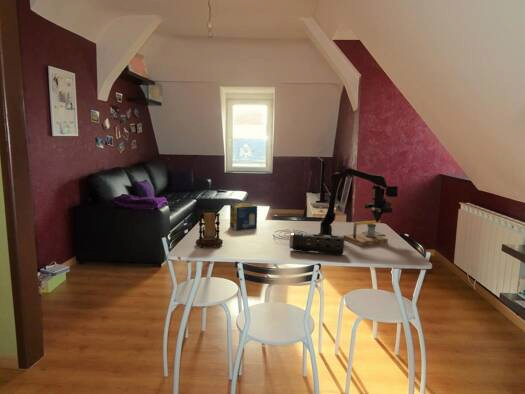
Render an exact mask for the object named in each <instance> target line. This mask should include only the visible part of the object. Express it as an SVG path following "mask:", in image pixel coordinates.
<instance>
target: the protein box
mask: <svg viewBox="0 0 525 394" xmlns="http://www.w3.org/2000/svg"><path fill="white" fill-rule="evenodd" d="M229 205H230V206H229V207H230V208H229V228H231V229H232V230H234V231H244V230H245V231H246V230H256V229H258V227H257V226H258V205H256V204H253V203H251V202H248V203H237V204H235V203H234V204H229Z"/></svg>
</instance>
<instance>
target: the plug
mask: <svg viewBox="0 0 525 394" xmlns="http://www.w3.org/2000/svg"><path fill="white" fill-rule="evenodd" d="M366 225H367V231H366V232H367V237H368V238H374V236H375V231H376V227H377V223H374V224H366Z"/></svg>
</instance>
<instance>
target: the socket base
mask: <svg viewBox="0 0 525 394" xmlns="http://www.w3.org/2000/svg"><path fill="white" fill-rule="evenodd" d="M343 236H344V241H346V242H349V243H351V244H354V245H356V246H358V247H366V246H376V245H383V244H384V245H385V244H388V243H389V238H386V237H384V236H378V235H375V236H374V238H368V237H367V233H362V232H361V233H356V238H353V233H352V234H343Z"/></svg>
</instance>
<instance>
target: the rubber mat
mask: <svg viewBox="0 0 525 394" xmlns="http://www.w3.org/2000/svg"><path fill="white" fill-rule="evenodd" d="M367 232H368V231H362V232H361V233H367ZM375 235H378V236H381V237H384V236H386V234H384V233H382V232H379V231H377V230H375Z"/></svg>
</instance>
